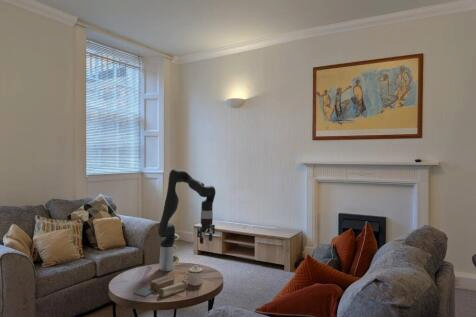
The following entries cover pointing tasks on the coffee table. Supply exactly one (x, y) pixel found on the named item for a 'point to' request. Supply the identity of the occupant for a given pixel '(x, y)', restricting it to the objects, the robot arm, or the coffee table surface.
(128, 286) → the coffee table surface
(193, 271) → the teacup with lid
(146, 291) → the slate coaster
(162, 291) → the cream long bar
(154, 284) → the tan rectangular block
